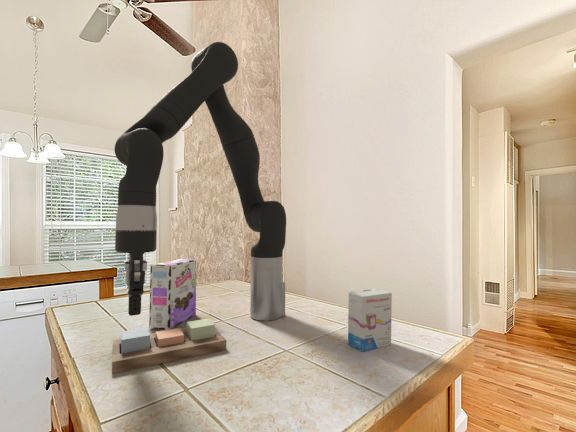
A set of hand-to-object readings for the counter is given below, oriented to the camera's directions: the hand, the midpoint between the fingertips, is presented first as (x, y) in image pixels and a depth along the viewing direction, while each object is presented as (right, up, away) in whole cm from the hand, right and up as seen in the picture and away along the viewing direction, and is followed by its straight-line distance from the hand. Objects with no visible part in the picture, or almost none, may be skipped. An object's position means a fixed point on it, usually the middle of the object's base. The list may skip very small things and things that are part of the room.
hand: (134, 314), depth 61 cm
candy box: (0, -9, +22) cm, 23 cm away
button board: (+6, -9, +3) cm, 11 cm away
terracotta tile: (+6, -8, +3) cm, 10 cm away
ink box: (+49, -9, +6) cm, 50 cm away
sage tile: (+12, -7, +6) cm, 15 cm away
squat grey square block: (0, -7, 0) cm, 7 cm away
